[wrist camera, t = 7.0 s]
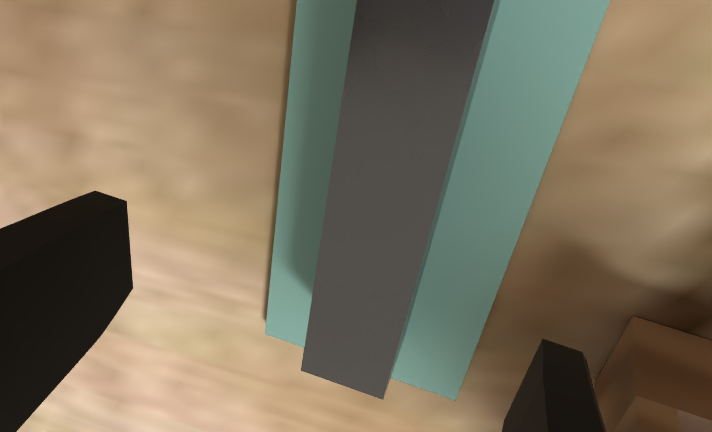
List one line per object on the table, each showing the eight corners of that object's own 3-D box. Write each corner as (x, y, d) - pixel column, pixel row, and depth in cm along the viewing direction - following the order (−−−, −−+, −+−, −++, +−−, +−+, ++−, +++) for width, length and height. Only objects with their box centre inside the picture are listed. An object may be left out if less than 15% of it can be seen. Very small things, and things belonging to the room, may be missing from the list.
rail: (404, 338, 22) (382, 399, 20) (329, 313, 22) (301, 370, 20) (574, -261, 12) (567, -262, 10) (435, -286, 12) (401, -294, 10)
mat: (457, 391, 23) (455, 400, 22) (269, 326, 24) (265, 334, 24) (754, -382, 11) (758, -386, 10) (346, -443, 12) (339, -449, 11)
